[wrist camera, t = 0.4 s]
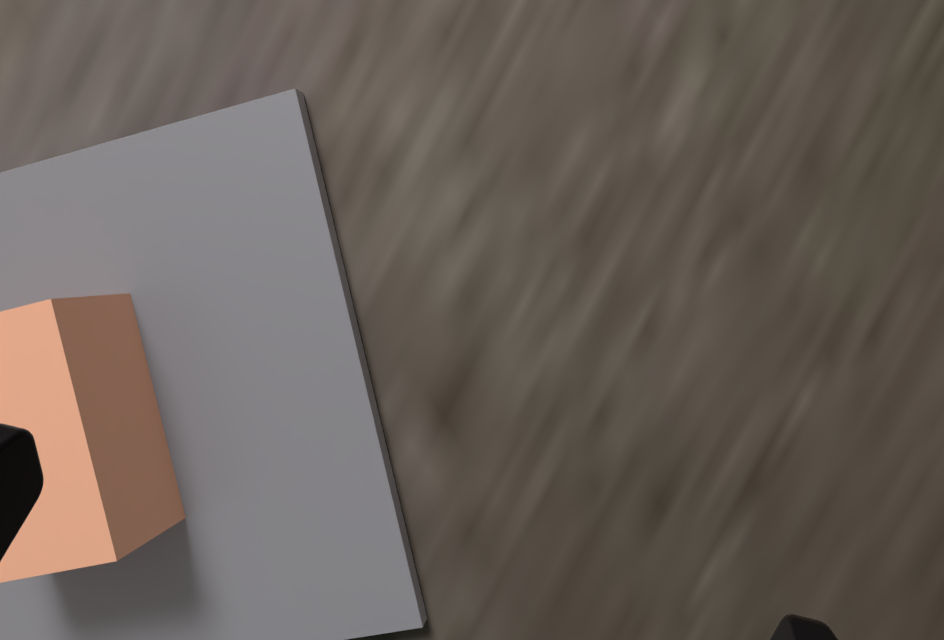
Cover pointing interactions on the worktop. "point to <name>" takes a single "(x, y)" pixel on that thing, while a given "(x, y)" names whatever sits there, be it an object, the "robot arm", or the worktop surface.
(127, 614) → the baseplate
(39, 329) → the terracotta brick
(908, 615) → the worktop surface
